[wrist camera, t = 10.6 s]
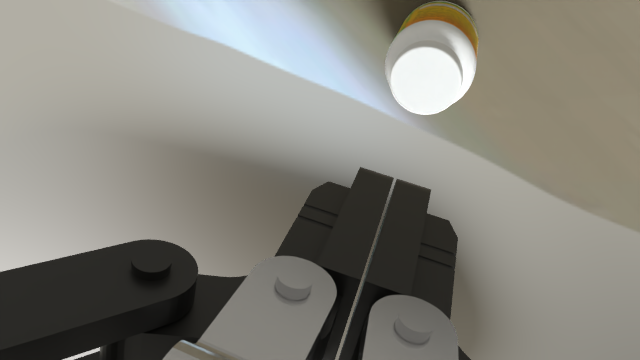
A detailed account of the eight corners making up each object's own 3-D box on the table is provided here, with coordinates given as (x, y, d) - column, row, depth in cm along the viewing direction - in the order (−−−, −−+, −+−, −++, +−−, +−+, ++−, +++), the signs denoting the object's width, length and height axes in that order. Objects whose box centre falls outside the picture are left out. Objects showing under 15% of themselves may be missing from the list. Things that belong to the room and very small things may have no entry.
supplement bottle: (404, -5, 40) (381, 27, 32) (485, 3, 39) (483, 38, 31) (395, 72, 43) (372, 120, 34) (471, 81, 42) (466, 133, 33)
